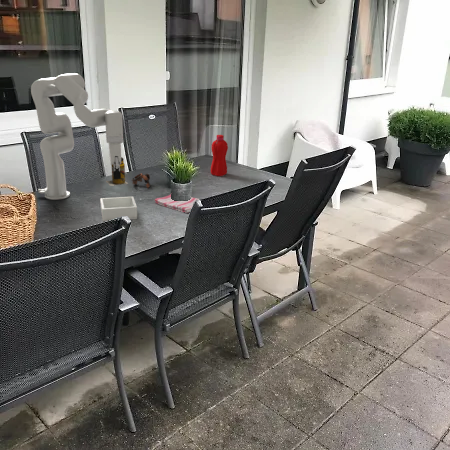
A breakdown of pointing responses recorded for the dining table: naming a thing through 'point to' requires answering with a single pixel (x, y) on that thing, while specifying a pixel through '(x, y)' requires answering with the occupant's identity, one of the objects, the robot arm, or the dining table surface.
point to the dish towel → (176, 203)
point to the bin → (118, 208)
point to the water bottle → (219, 156)
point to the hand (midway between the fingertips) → (116, 176)
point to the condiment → (122, 180)
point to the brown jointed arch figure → (139, 178)
